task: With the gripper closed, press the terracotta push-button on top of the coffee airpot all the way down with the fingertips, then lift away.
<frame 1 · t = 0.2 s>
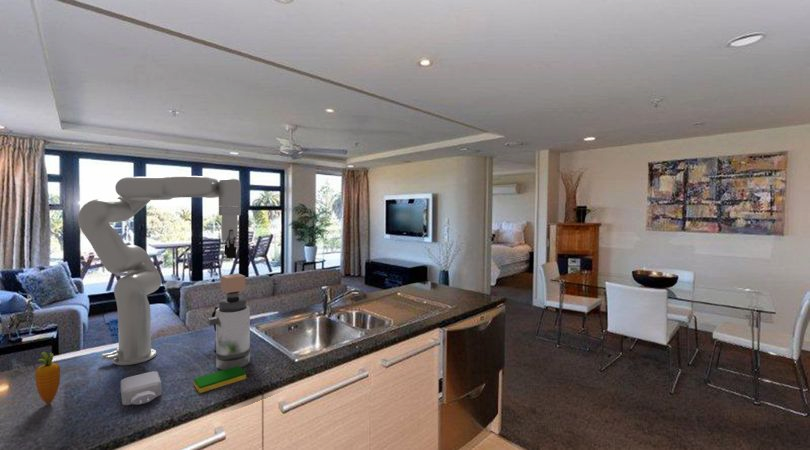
hand: (230, 256, 134), 38 cm above the worktop, tool pointing down, fingers open, 9 cm apart
moka pot: (226, 349, 140), on the worktop
airpot button: (232, 282, 126), point 29 cm above the worktop, slide at 3.5 cm
carrot: (49, 404, 100), on the worktop
charger: (142, 400, 104), on the worktop
airpot: (233, 362, 128), on the worktop
dish sponge: (220, 383, 114), on the worktop
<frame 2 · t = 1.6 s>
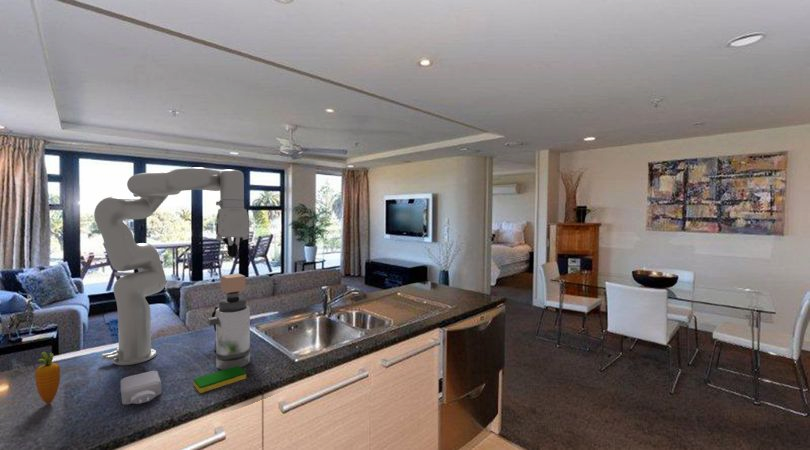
hand: (232, 256, 126), 39 cm above the worktop, tool pointing down, fingers closed
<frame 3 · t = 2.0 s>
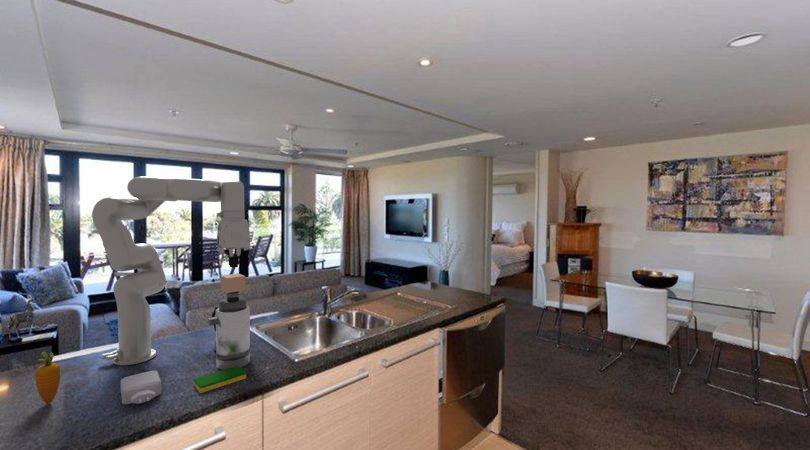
hand: (233, 267, 126), 35 cm above the worktop, tool pointing down, fingers closed
nothing on the worktop moved.
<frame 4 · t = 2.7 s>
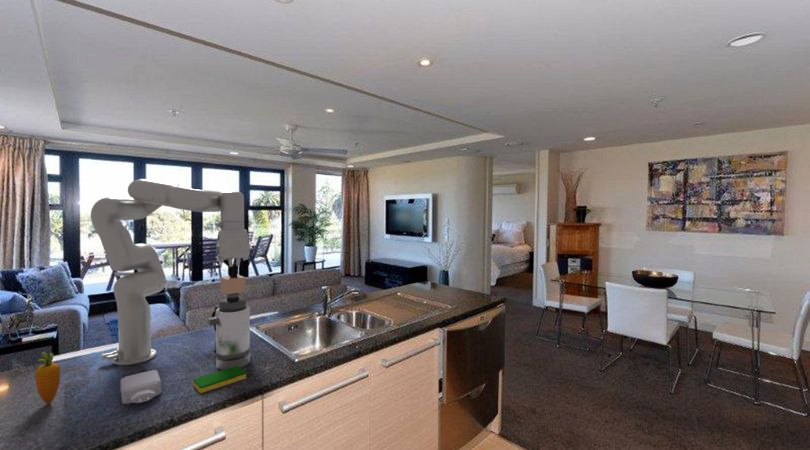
hand: (233, 277, 126), 32 cm above the worktop, tool pointing down, fingers closed
airpot button: (232, 284, 126), point 29 cm above the worktop, slide at 3.0 cm, touching gripper
everything else where it was.
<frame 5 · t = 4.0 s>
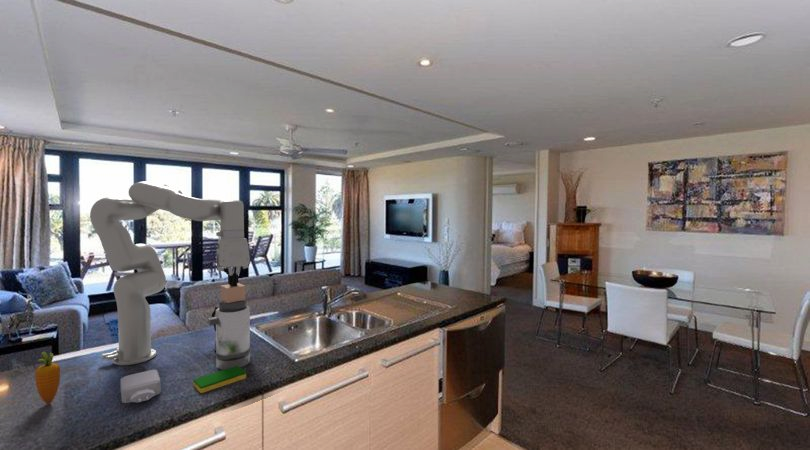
hand: (233, 285, 126), 28 cm above the worktop, tool pointing down, fingers closed
airpot button: (232, 292, 127), point 26 cm above the worktop, slide at -0.1 cm, touching gripper
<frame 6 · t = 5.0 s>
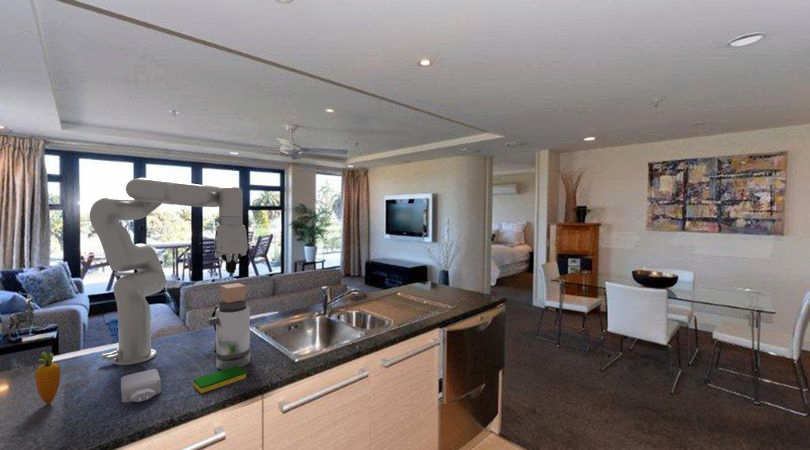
hand: (230, 272, 127), 33 cm above the worktop, tool pointing down, fingers closed
airpot button: (232, 292, 127), point 26 cm above the worktop, slide at -0.1 cm
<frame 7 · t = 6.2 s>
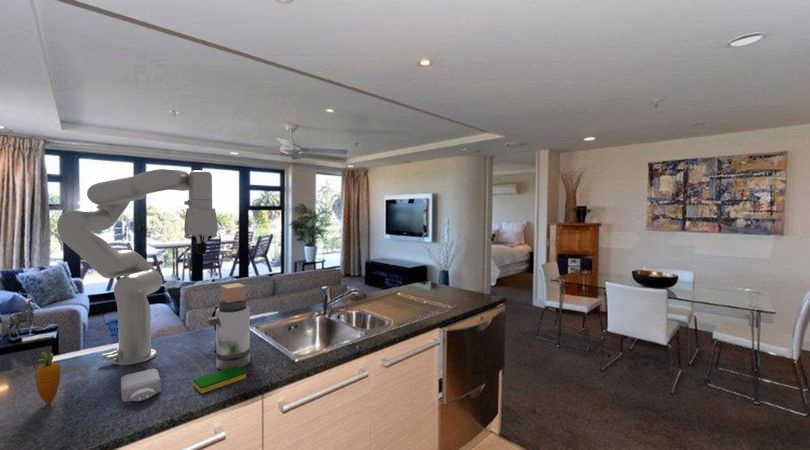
hand: (201, 253, 131), 39 cm above the worktop, tool pointing down, fingers closed
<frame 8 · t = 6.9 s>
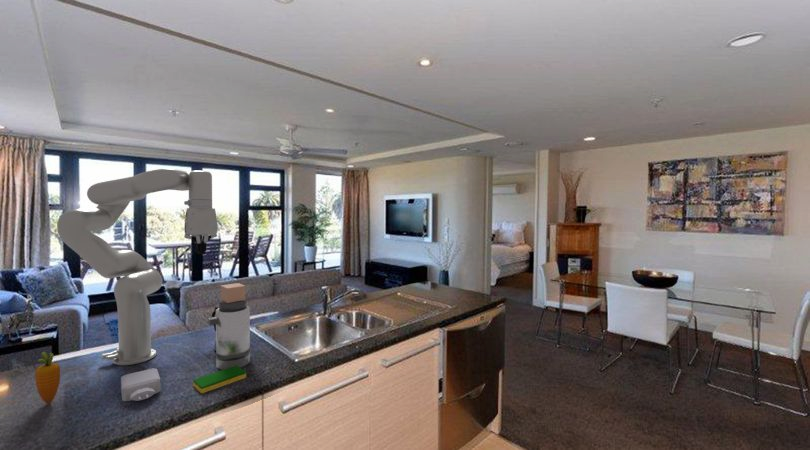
hand: (201, 253, 131), 39 cm above the worktop, tool pointing down, fingers closed
at the end: airpot button slide at -0.1 cm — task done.
